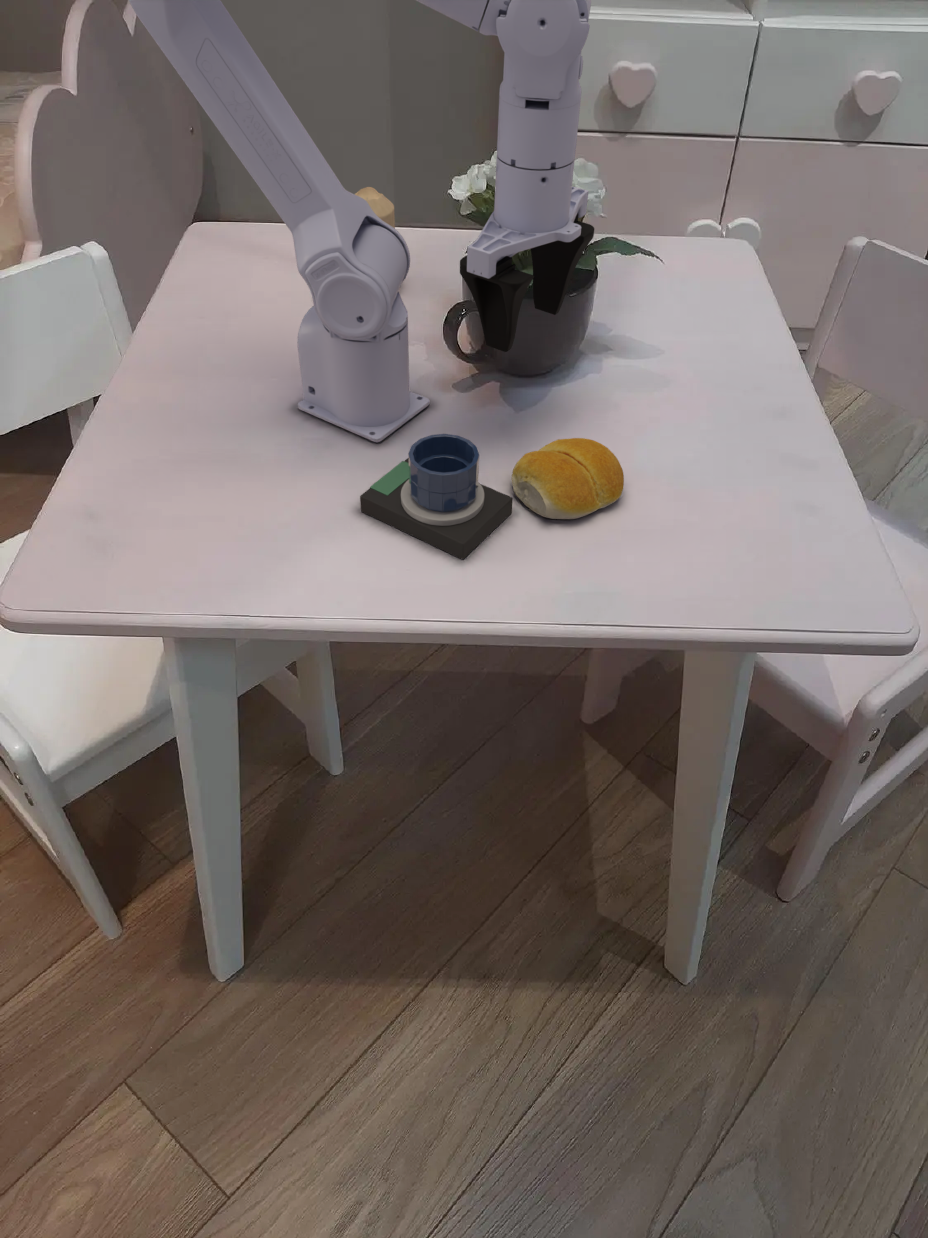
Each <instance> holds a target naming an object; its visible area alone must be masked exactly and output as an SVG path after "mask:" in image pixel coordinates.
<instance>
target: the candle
mask: <svg viewBox="0 0 928 1238" xmlns="http://www.w3.org/2000/svg"><path fill="white" fill-rule="evenodd" d="M354 194H355V195H357V196H359V197H361V198H363V199H365V200H366V201H367V203H368V204H369V206H370V207H371V209H372V210H373V212H374V213H375V214H376V215H377V216H378V217H379V218H380V219H381V220H383V221H384V222H386V223H387V224H389V225H390V226H392V227H393V228H395V229H396V220H395V219H396V218H395V216H396V215H395V204H394V203H393V202H392V201H391V200H390V199H389V198H387V196H385V195H384V194H383V193H380V192H378V191H377V189H375V188H374V187H372V186H366V187H363V188H360V189H359V190H358V191H357V192H355V193H354Z"/></svg>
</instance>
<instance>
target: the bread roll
mask: <svg viewBox="0 0 928 1238" xmlns="http://www.w3.org/2000/svg"><path fill="white" fill-rule="evenodd" d="M622 467H623V466H622V465H621V463H620V460H619V459H618V458H617V456H616V455H615V453H614V452H612V451H611V449H609V447H607V446H606V445H604V444H602V443H601V442H598V441H596V440H593V439H592V438H591V439H590V438H585V437H571V438H558V439H556V440H554V441H553V440H552V441H551V442H549V443H547V444H545V445H544V446H542V447H540V448H539V449H537V450H533V451H530V452H527V453H524V454H523V455H522V456H521V457H520V459H518V461H517V462H516V464H515V465H514V468H513V469H512V474H511V477H510V478H511V486H512V488H513V489H512V490H513V492H514V495H515V496H516V497H517V498H518V499H519V500H520V501H521V502H522V503H523V504H524V506H525V507H527V508H529V509H530V510H531V511H532V512H533V513H535V514H537V515H539V516H541V517H544V518H547V519H551V520H556V519H557V520H575V519H580V518H582V517H583V518H584V517H585V516H588V515H590V514H592V513H594V512H596V511H598V510H599V509H604V508H606V507H608V506H610V505H611V504H613V503H615V502H617V501H618V500H619V499H620V498H621V496H622V494H623V491H624V485H625V476H624V471H623V468H622Z"/></svg>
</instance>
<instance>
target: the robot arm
mask: <svg viewBox="0 0 928 1238" xmlns="http://www.w3.org/2000/svg"><path fill="white" fill-rule="evenodd" d="M415 1H416V2H418V3H420V4H421V5H424V6H425V7H427V8H430V9H431V10H433V11H435V12H437V13H439V14H441V15H444V16H445V17H448V18H449V19H451V20H454V21H455V22H457V23H459V24H461V25H464V26H465V27H467V28H469V29H471V30H473V31H475V32H477V33H479V34H481V35H483V36H497V38H498V41H499V44H500V46H501V49H502V51H503V52H504V54H503V55H504V56H503V72H502V73H503V75H502V77H503V78H502V81H501V83H500V85H499V93H498V94H499V95H498V115H497V117H498V118H497V119H498V120H497V138H496V139H497V141H496V159H495V160H496V161H495V162H496V163H495V180H494V183H495V184H494V205H493V211H492V213H491V214H490V216H489V217H488V220H487V221H486V223H485V225H484V226H483V227H482V229H481V231H480V233H479V235H478V236H477V238H476V239H475V240H474V241H473V242H471V243H470V244H469V245H467V246H466V248H467V249H466V252H467V253H466V255H465V256H463V257H461V258H460V260H459V274H460V276H461V277H462V279H463V280H464V282H465V284H466V286H467V288H468V289H469V291H470V294H471V295H472V297H473V300H474V303H475V306H476V309H477V312H478V315H479V320H480V324H481V328H482V333H483V337H484V342H485V345H486V346H487V347H490V348H493V349H495V350H498V351H502V352H504V353H507V352H509V351H511V349H512V347H513V345H514V343H515V342H514V341H515V338H516V333H517V326H518V322H519V321H518V320H519V315H520V311H521V308H522V303H523V301H524V299H525V295H526V293H527V291H528V289H529V286H530V285H531V283H532V298H533V299H532V300H533V305H534V306H533V307H534V308H535V309H536V310H538V311H541V312H544V313H548V314H550V315H553V316H556V315H557V314H559V313H560V311H561V308H562V306H563V304H564V300H565V298H566V294H567V291H568V289H569V286H570V284H571V280H572V277H573V275H574V272H575V269H576V267H577V265H578V263H579V261H580V260H581V258H582V256H583V254H584V252H585V250H586V249H587V247H588V245H589V244H590V243H591V242H592V240H593V239H594V236H595V227H594V225H592V224H590V223H587V222H584V221H580V220H579V219H580V218H583V217H584V216H586V215H587V210H588V209H587V207H588V201H589V193H590V192H589V190H588V189H584V188H581V187H578V186H573V180H574V170H575V160H576V150H577V141H578V131H579V121H580V111H581V101H582V86H581V83H580V79H581V77H582V75H583V67H584V59H583V55H582V50H583V48H584V46H585V45H586V42H587V40H588V36H589V32H590V28H591V27H590V25H591V24H590V23H589V20H590V19H589V18H590V14H591V7H592V0H415ZM128 2H129V4H130V6H131V9H132V10H133V12H134V14H135V15H136V16H137V18H138V19H139V20H140V22H141V23H142V25H143V26H144V27H145V29H146V31H147V32H148V34H149V35H150V36H151V38H152V39H153V41H154V42H155V43H156V44H157V46H158V48H159V49H160V50H161V52H162V53H163V55H164V56H165V57H166V59H167V60H168V61H169V63H170V64H171V66H172V67H173V68H174V70H175V71H176V72H177V74H178V75H179V77H180V78H181V80H182V81H183V83H184V84H185V85H186V87H187V88H188V90H189V91H190V92H191V94H192V95H193V96H194V98H195V99H196V100H197V102H198V103H199V106H201V107H202V109H203V111H204V112H205V114H206V115H207V116H208V117H209V119H210V121H211V122H212V123H213V124H214V127H216V129H217V130H218V132H219V133H220V135H221V136H222V138H223V139H224V140H225V142H226V143H227V144H228V146H229V147H230V149H231V150H232V151H233V153H234V154H235V155H236V157H237V158H238V160H239V161H240V162H241V164H242V166H243V167H244V168H245V170H246V171H247V172H248V174H249V175H250V176H251V178H252V179H253V181H254V182H255V184H256V185H257V186H258V188H259V189H260V190H261V192H262V193H263V195H264V197H265V198H266V199H267V200H268V202H269V203H270V205H271V206H272V207H273V209H274V211H275V212H276V213H277V214H278V216H279V218H280V219H281V220H282V222H283V223H284V224H285V226H286V227H287V228H288V230H289V231H290V233H291V236H292V240H293V247H294V255H295V262H296V267H297V272H298V274H299V275H300V277H301V278H302V279H303V280H304V282H305V283H306V285H307V288H308V290H309V292H310V294H311V299H312V304H313V305H312V306H311V307H310V308H309V309H308V310H307V311H306V312H305V314H304V316H303V318H302V319H301V322H300V324H299V328H298V332H297V338H296V339H297V340H296V345H297V354H298V363H299V371H300V380H301V381H300V382H301V389H302V400H300V401H298V403H297V408H298V410H300V411H303V412H305V413H307V414H310V415H311V416H314V417H316V418H319V419H321V420H323V421H325V422H328V423H330V424H332V425H335V426H337V427H340V428H342V429H344V430H346V431H347V432H348V431H349V432H351V433H353V434H355V435H358V436H360V437H362V438H365V439H366V440H368V441H371V442H374V443H380V442H382V441H384V440H385V439H386V438H387V437H388V436H390V435H391V434H392V433H394V432H395V431H396V430H398V429H399V428H400V427H402V426H403V425H404V424H406V423H407V422H408V421H410V420H411V419H413V418H414V417H415V416H416V415H418V414H419V413H420V412H422V411H423V410H424V409H426V408H427V407H428V406H429V405H430V398H428V397H426V396H424V395H421V394H418V393H416V392H414V391H412V390H410V356H409V355H410V354H409V353H410V352H409V349H410V348H409V313H408V309H407V307H406V305H405V304H404V301H403V299H402V296H401V293H400V289H401V287H402V283H403V282H404V281H405V280H406V278H407V276H408V273H409V271H410V267H411V253H410V250H409V246H408V244H407V242H406V240H405V238H404V237H403V235H402V234H401V233H400V232H399V231H398V230H397V229H396V227H395V228H393V227H392V226H390V225H389V224H387V223H386V222H384V221H383V220H381V219H380V218H379V217H378V216H377V215H376V214H375V213H374V212H373V210H372V209H371V207H370V206H369V204H368V203H367V201H366V200H365V199H363V198H361V197H359V196H357V195H355V194H356V193H353V192H350V191H349V190H347V189H345V187H344V185H343V184H342V183H341V182H340V180H339V178H338V177H337V175H336V173H335V172H334V171H333V169H332V167H331V166H330V165H329V163H328V162H327V160H326V158H325V157H324V155H323V154H322V152H321V151H320V149H319V148H318V146H317V145H316V143H315V142H314V140H313V139H312V137H311V135H310V134H309V133H308V131H307V129H306V128H305V127H304V125H303V123H302V122H301V120H300V119H299V117H298V116H297V115H296V112H295V111H294V110H293V108H292V107H291V105H290V104H289V102H288V101H287V99H286V98H285V96H284V95H283V93H282V92H281V89H280V88H279V87H278V86H277V84H276V82H275V80H273V78H272V76H271V75H270V73H269V72H268V70H267V69H266V67H265V66H264V64H263V63H262V61H261V60H260V58H259V57H258V55H257V53H256V52H255V50H254V49H253V47H252V46H251V44H250V43H249V41H248V40H247V38H246V37H245V35H244V34H243V32H242V30H241V28H239V26H238V25H237V23H236V22H235V20H234V18H233V17H232V15H231V14H230V13H229V11H228V9H227V7H225V5H224V4H223V2H222V0H128ZM527 250H530V256H531V265H532V274H531V273H528V272H525V271H522V270H519V269H516V265H517V264H515V263H513V257H514V256H515V255H517V254H518V253H521V252H523V251H527Z"/></svg>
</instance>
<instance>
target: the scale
mask: <svg viewBox="0 0 928 1238" xmlns="http://www.w3.org/2000/svg"><path fill="white" fill-rule="evenodd" d="M513 500H514V498H513V497H512V496H510V495H507V494H505V493H502V492H500V491H498V490H496V489H493V488H491V487H489V486H486V485H484V484H481V482H480V481H478V492H477V495H476V497H475V499H474V500H473V501H472V502H471V503H469V504H468V505H467V506H465V507H463V508H461V509H458V510H455V511H450V512H438V511H433V510H429V509H427V508H425V507H423V506H422V505H419V504H418V503H417V502H416V501H415V500H414V499H413V498H412V497H411V494H410V489H409V458H408V457H407V458H405V460H402V461H401V462H399V463H398V464H397V465H395V466H394V467H393V468H391V469H390V470H389V471H388V472H387V473H386V474H384V475H383V476H382V477H380V478H379V479H378V480H376V481H375V482H374V483H372V485H370V486H369V488H368V489H367V490H365V492H363V493H362V494H360V495H359V502H360V503H359V504H360V512H361V513H364V514H365V515H367V516H370V517H372V518H373V519H376V520H379V521H380V522H382V523H385V524H386V525H389V526H391V527H392V528H395V529H397V530H399V531H401V532H403V533H405V534H407V535H410V536H411V537H414V538H416V539H418V540H420V541H422V542H424V543H427V544H428V545H431V546H432V547H435V548H437V549H440V550H441V551H443V552H446V553H448V554H449V555H451V556H454V557H456V558H458V559H461V560H465V558H466V557H468V556H469V555H470V554H471V553H472V552H473V551H474V550H475V549H476V548H477V547H478V546H479V545H480V544H481V543H482V542H483V541H484V540H485V539H487V538H488V536H489V535H490V534H491V533H493V532H494V531H495V530H496V528H498V527H499V526H500V525H501V524H502V523H503V522H504V521H505V520H506V519H507V518H508V517H509V516H511V515H512V513H513V502H514V501H513Z"/></svg>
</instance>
